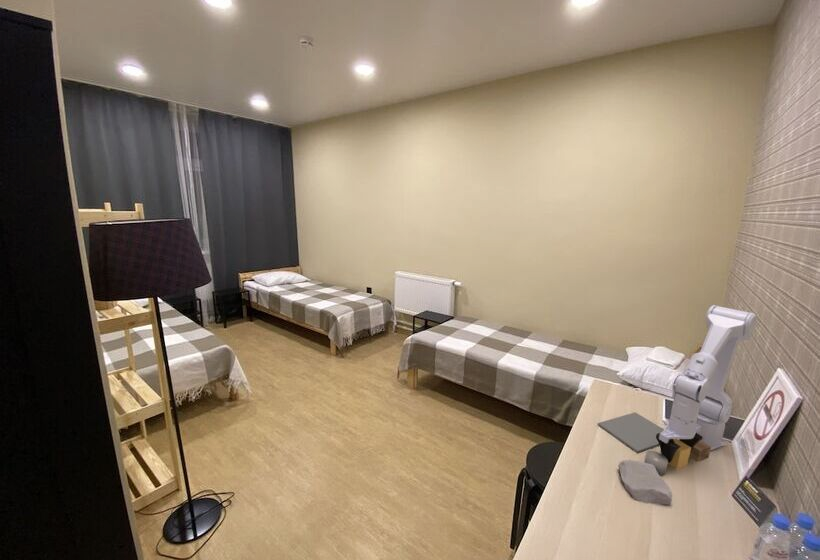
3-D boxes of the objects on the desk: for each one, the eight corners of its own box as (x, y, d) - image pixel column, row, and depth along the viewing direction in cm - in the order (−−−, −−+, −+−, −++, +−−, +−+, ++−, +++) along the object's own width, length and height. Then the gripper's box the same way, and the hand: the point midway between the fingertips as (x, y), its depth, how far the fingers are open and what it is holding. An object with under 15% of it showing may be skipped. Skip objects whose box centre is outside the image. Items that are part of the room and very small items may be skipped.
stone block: (631, 507, 86) (676, 507, 83) (630, 491, 85) (674, 490, 83) (613, 473, 97) (651, 472, 95) (611, 458, 96) (650, 457, 94)
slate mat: (634, 414, 120) (635, 412, 120) (676, 439, 108) (677, 437, 107) (597, 425, 114) (597, 423, 114) (637, 453, 101) (637, 451, 101)
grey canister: (651, 460, 99) (654, 449, 98) (669, 473, 94) (672, 461, 93) (639, 464, 97) (641, 453, 96) (657, 478, 92) (659, 465, 92)
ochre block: (670, 454, 101) (674, 437, 100) (687, 465, 97) (691, 447, 96) (660, 458, 100) (664, 440, 98) (676, 469, 96) (680, 451, 94)
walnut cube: (689, 447, 105) (692, 435, 104) (708, 458, 100) (711, 446, 99) (679, 450, 103) (681, 439, 102) (697, 462, 98) (700, 450, 97)
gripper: (685, 403, 101) (676, 442, 104) (651, 413, 96) (643, 453, 99) (712, 417, 95) (702, 457, 98) (678, 428, 90) (668, 471, 93)
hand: (674, 456), depth 98 cm, fingers open, 7 cm apart
